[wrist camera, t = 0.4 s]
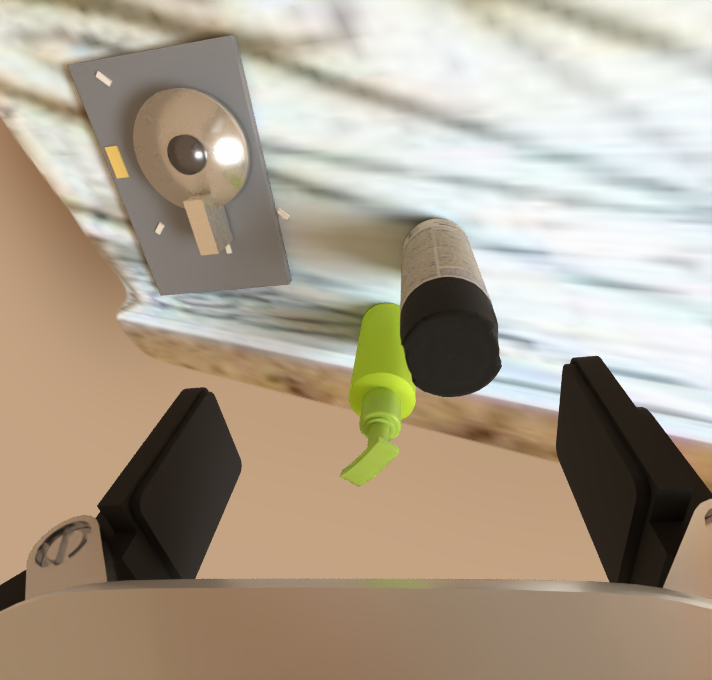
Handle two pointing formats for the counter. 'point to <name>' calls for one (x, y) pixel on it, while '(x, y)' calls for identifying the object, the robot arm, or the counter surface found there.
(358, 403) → the soap dispenser
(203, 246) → the dial
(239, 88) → the board
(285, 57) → the counter surface
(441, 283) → the spray can
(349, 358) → the counter surface
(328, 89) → the counter surface
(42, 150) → the counter surface
